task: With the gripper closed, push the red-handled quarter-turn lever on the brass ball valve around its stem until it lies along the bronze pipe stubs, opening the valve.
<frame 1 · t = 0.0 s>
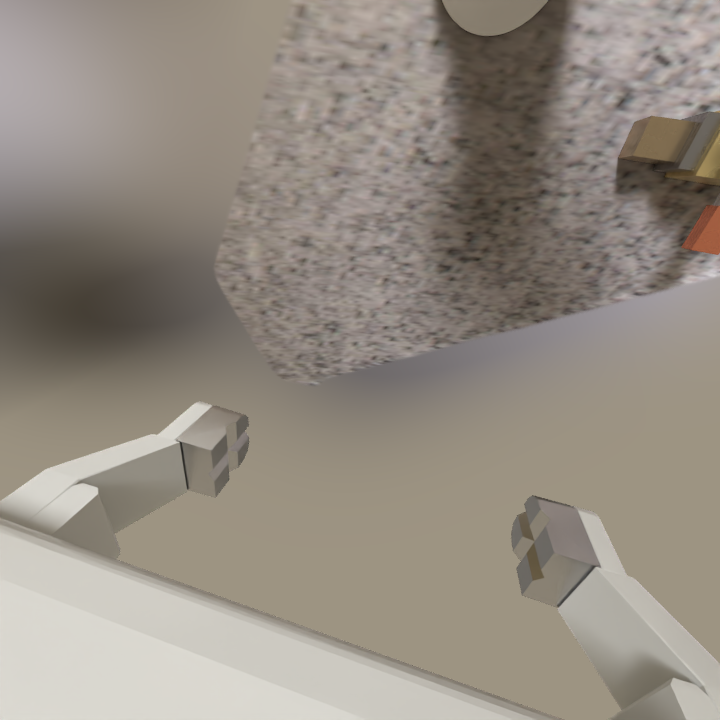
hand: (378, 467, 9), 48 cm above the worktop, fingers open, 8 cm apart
valve: (711, 153, 40), on the worktop
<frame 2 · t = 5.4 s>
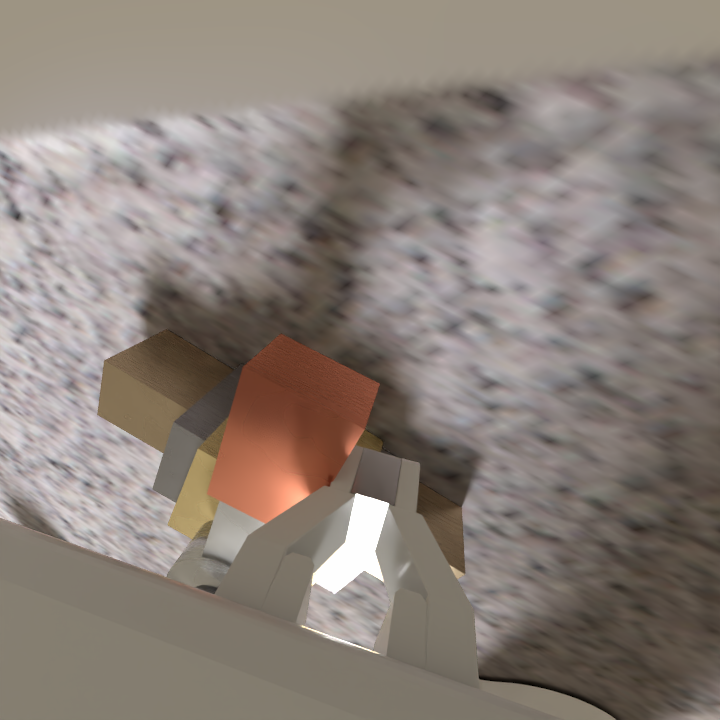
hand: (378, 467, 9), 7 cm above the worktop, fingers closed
valve: (305, 441, 19), on the worktop
lever: (250, 526, 10), point 8 cm above the worktop, hinge at 5.7°, touching gripper
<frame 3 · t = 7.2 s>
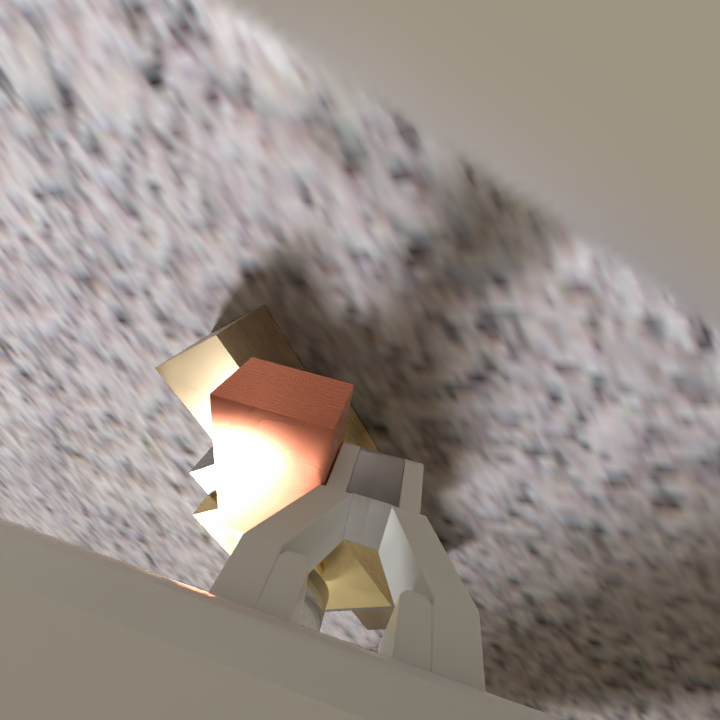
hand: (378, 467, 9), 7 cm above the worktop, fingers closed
valve: (332, 461, 19), on the worktop
lever: (272, 551, 10), point 8 cm above the worktop, hinge at 51.4°, touching gripper
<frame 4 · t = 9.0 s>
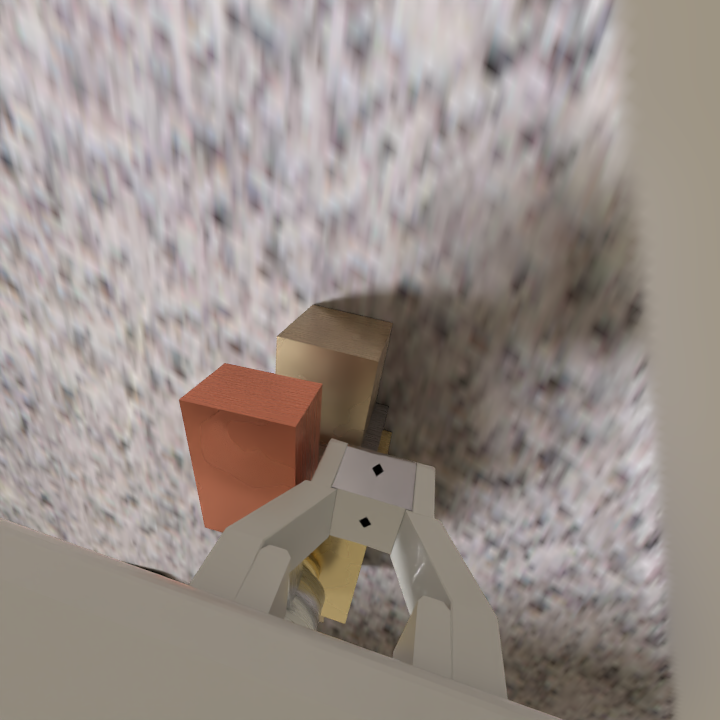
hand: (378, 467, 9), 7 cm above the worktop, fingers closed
valve: (329, 463, 20), on the worktop
lever: (261, 552, 11), point 8 cm above the worktop, hinge at 93.3°
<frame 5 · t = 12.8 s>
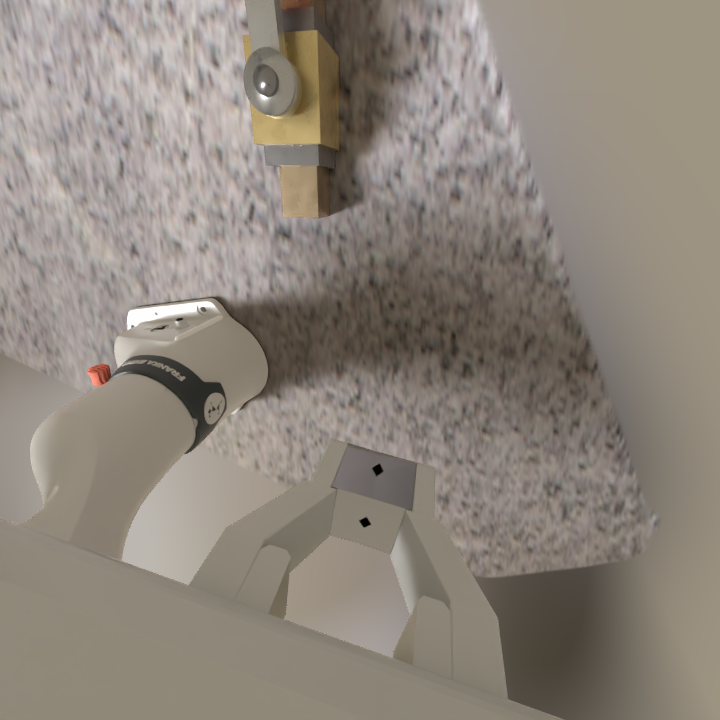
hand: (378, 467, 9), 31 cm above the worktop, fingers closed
valve: (309, 107, 32), on the worktop
lever: (262, 10, 23), point 8 cm above the worktop, hinge at 93.3°
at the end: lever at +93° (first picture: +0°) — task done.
